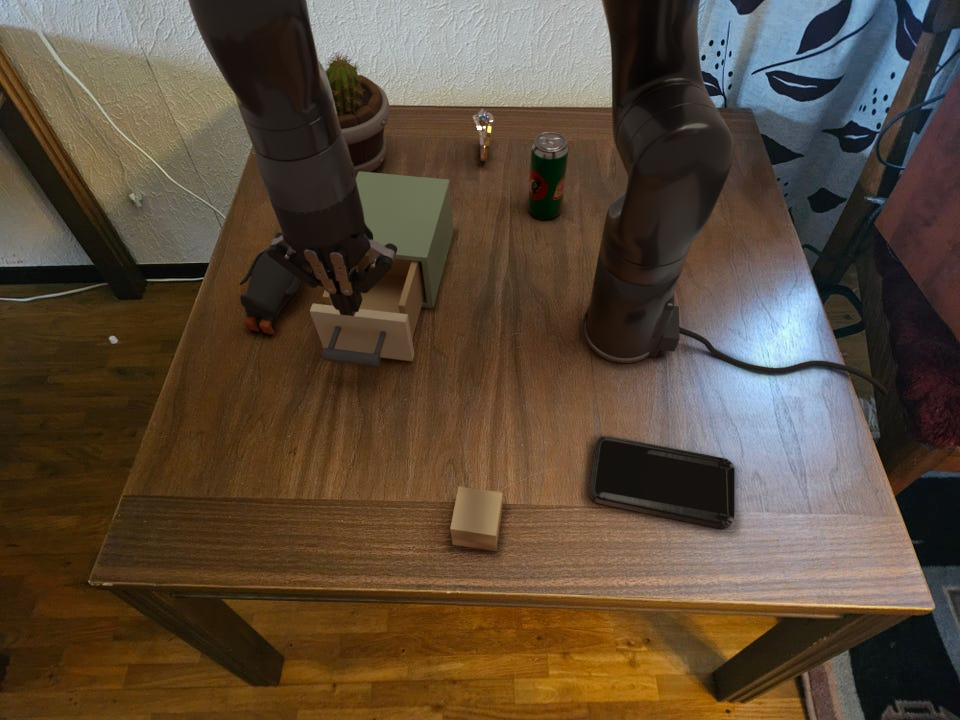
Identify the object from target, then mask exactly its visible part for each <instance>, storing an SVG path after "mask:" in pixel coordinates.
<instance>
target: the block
mask: <svg viewBox="0 0 960 720" xmlns="http://www.w3.org/2000/svg"><path fill="white" fill-rule="evenodd" d="M503 493H504V492H502V491H495V490H487V489H480V488H473V487H466V486H461V485H460V486H459V485H458V487H457V491H456V496H455V502H454V507H453V512H452V517H451V523H450V527H449V530H450V531H449V532H450V537H451V542H452V545H453V546H458V547H464V548H465V547H466V548H472V549H478V550H483V551H484V550H485V551H492V552H497V550H498V549H497V548H498V542H499V535H500V528H501V521H502V516H503V515H502V513H503V498H504V494H503Z"/></svg>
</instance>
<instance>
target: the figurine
mask: <svg viewBox="0 0 960 720" xmlns="http://www.w3.org/2000/svg"><path fill="white" fill-rule="evenodd" d="M268 249H269V247H268V248H266V249H264V250H263V251H260V252H259V253H257V255H256V257H255V258H254V260H253V261H252V263H251V265H250V267H249V270H248V271H247V273H246V275H245V276H244V277H243V279H242V280H241V281H240V282H239V285H240V286H243V285H244V284H246V283H247V282H248V281H249V282H248V286H247V289H246V293H245V294H240V304H241V305H242V307H243V308H244V310H245V312H246V313H245V314H246V315H245V318H244V322H243V323H244V324H245V326H246V327H247V328H248V329H249V330H250V331H253V332H260V330H262V332H263V333H264V334H267V335H271V336H272V335H273V336H274V335H275V330H274V329H273V326H272V324H273V322H274V321H276V319H277V317H278V315H279V313H280V311H281V310H282V309H283V307H284V306H285V305H286V304H287V302H288V301H289V300H290V299H291V297H292V296H293V294H295V293H297V291H298V290H299V289H300V288H301V286H302V283H303V281H301V280H300V279H299V278H297V277H296V276H295V275H293V274H292V273H291V272H290V271H288V270H287V269H286V268H284V267H283V266H282V265H280V264H279V263H278V262H276V261H275V260H274V259H272V258H271V257H270V256H269V255H268V254H267V251H268ZM303 268H304V269H305V270H307V266H306V265H305V264H304V263H303ZM258 322H259V323H258Z"/></svg>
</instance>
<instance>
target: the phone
mask: <svg viewBox="0 0 960 720" xmlns="http://www.w3.org/2000/svg"><path fill="white" fill-rule="evenodd" d="M735 473H736V472H735V466H734V464H733V463H732V462H731V461H730V460H729V459H727V458H726V457H725V458H724V457H720V456H716V455H710V454H704V453H699V452H695V451H694V452H693V451H690V450H683V449H678V448H672V447H668V446H662V445H658V444H652V443H646V442H643V441H642V442H641V441H637V440H631V439H626V438H620V437H615V436H611V435H602V436H600V437H598V439H597V441H596V444H595V447H594V453H593V461H592V469H591V474H590V482H589V489H588V495H589V498H590V499H591V501H593V502H594V503H597V504H599V505H604V506H609V507H612V508H613V507H615V508H618V509H624V510H629V511H633V512H638V513H643V514H647V515H653V516H658V517H662V518H666V519H671V520H672V519H673V520H677V521H682V522H687V523H692V524H696V525H702V526H705V527H710V528H716V529H721V530H724V529H727V528H728V527H730V525H731V524H732V523H733V522H734V520H735V513H736V511H735V509H736V508H735V507H736V505H735V503H736V502H735V500H736V499H735V498H736V497H735V491H736V489H735V485H736V483H735V480H736V479H735V477H736V476H735Z"/></svg>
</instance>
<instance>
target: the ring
mask: <svg viewBox="0 0 960 720" xmlns="http://www.w3.org/2000/svg"><path fill="white" fill-rule="evenodd" d="M472 119H473V122H474V124H475V126H476V128H477V133H478V138H479V145H480V146H479V149H480V150H479V151H480V162H487V158H488V152H489V148H490V142H491V141H490V140H491V133H492V125H493V122H494V119H495V118H494V115H493V114H492V113H490V112H488V110H485V109H484V108H481V109H479V111H477V113H476V114H474V115H472Z"/></svg>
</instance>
